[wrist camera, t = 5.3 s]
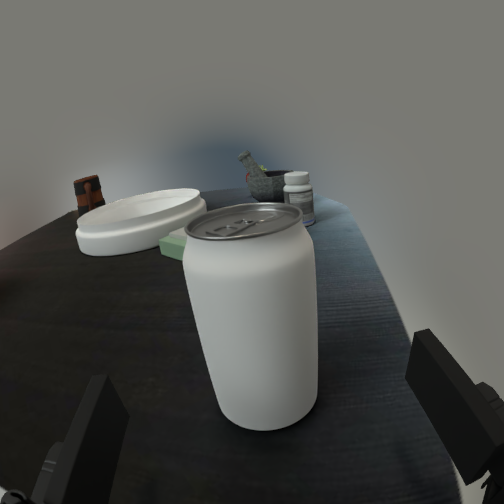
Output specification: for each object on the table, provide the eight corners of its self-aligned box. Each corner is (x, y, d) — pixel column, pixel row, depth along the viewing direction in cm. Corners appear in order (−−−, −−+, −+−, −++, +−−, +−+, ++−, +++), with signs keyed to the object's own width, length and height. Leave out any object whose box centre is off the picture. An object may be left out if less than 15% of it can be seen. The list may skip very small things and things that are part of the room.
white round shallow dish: (133, 265, 45) (124, 229, 43) (59, 249, 59) (52, 224, 57) (234, 211, 66) (230, 185, 64) (148, 210, 80) (144, 190, 78)
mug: (80, 225, 77) (70, 183, 73) (80, 218, 87) (72, 181, 82) (110, 216, 81) (101, 175, 76) (106, 210, 90) (98, 173, 86)
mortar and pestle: (301, 200, 68) (296, 144, 64) (293, 212, 60) (286, 148, 55) (251, 202, 72) (244, 149, 67) (237, 214, 63) (228, 154, 59)
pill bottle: (288, 219, 56) (283, 172, 53) (315, 218, 55) (311, 170, 52) (285, 228, 52) (279, 176, 49) (314, 226, 50) (310, 174, 47)
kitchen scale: (298, 237, 47) (296, 217, 46) (230, 275, 38) (226, 251, 36) (227, 226, 57) (224, 209, 56) (161, 254, 47) (156, 235, 46)
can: (337, 387, 19) (338, 206, 15) (270, 452, 15) (238, 252, 11) (266, 353, 24) (245, 197, 19) (199, 400, 20) (151, 228, 15)
